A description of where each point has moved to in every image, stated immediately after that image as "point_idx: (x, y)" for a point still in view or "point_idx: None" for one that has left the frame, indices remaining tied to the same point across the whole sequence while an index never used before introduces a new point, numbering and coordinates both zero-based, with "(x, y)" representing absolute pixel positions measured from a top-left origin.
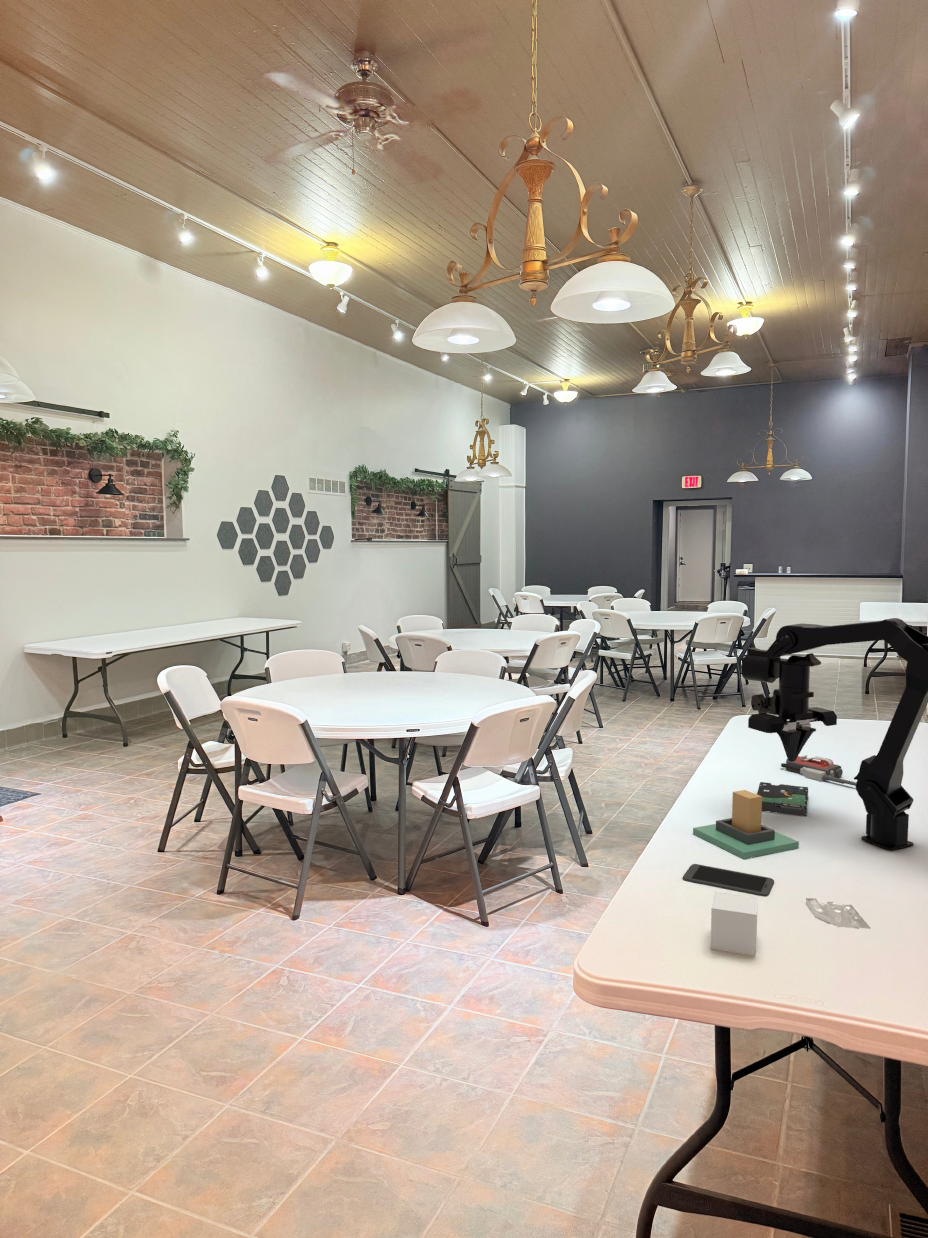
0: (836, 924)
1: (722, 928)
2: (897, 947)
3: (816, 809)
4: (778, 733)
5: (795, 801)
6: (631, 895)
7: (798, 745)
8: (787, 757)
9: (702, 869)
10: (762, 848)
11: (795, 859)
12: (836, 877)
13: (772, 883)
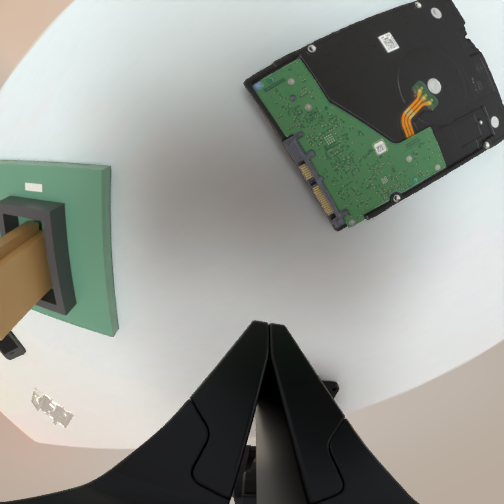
0: (43, 410)
1: None
2: (68, 439)
3: (416, 206)
4: (75, 502)
5: (363, 180)
6: None
7: (259, 480)
8: (244, 334)
9: None
10: (38, 310)
11: (83, 344)
12: (100, 395)
13: (20, 355)
